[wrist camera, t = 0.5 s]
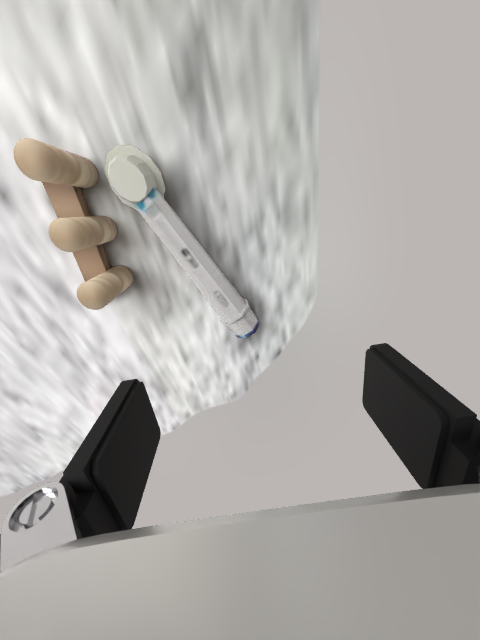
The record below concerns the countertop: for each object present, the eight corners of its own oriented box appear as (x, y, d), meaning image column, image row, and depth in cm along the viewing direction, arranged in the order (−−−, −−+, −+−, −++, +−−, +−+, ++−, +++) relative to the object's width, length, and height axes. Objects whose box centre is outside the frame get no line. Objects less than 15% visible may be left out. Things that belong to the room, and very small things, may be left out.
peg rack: (40, 158, 27) (-28, 139, 20) (89, 149, 27) (39, 127, 20) (98, 295, 34) (63, 320, 26) (138, 289, 34) (113, 311, 26)
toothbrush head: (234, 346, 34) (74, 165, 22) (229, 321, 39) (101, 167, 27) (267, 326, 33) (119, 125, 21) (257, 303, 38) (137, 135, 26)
